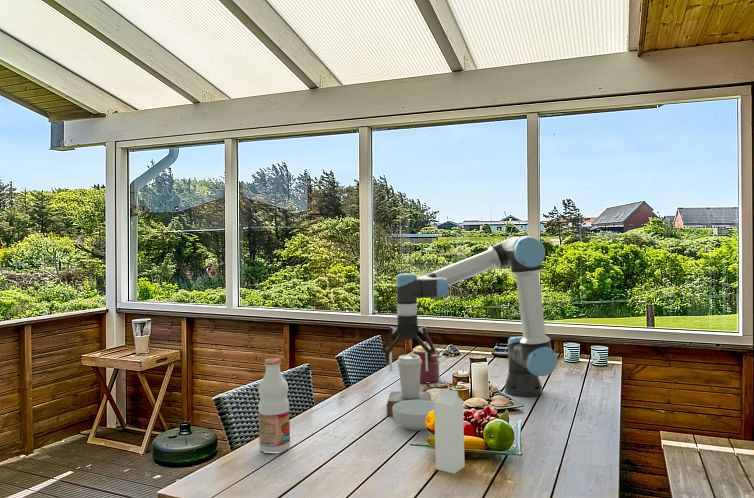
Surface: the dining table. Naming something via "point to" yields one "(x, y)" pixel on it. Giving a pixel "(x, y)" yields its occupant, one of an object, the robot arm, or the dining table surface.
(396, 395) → the grey flat block
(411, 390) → the coffee cup
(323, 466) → the dining table surface
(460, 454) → the milk
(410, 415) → the cereal bowl
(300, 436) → the dining table surface
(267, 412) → the fruit juice
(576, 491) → the dining table surface
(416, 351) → the canister
